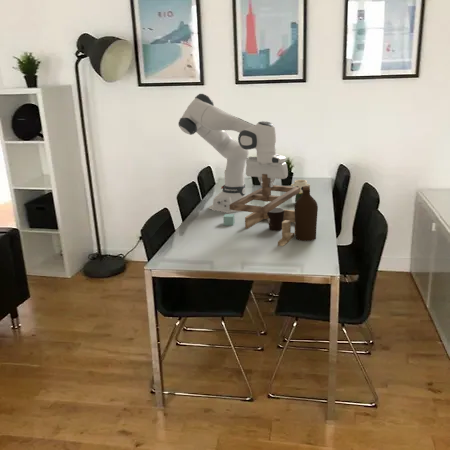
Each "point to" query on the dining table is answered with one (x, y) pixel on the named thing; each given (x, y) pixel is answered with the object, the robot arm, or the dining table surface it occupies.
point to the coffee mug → (275, 219)
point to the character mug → (300, 184)
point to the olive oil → (306, 216)
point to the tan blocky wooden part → (286, 233)
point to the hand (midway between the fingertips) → (266, 186)
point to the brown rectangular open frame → (265, 197)
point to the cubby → (257, 217)
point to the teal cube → (229, 219)
